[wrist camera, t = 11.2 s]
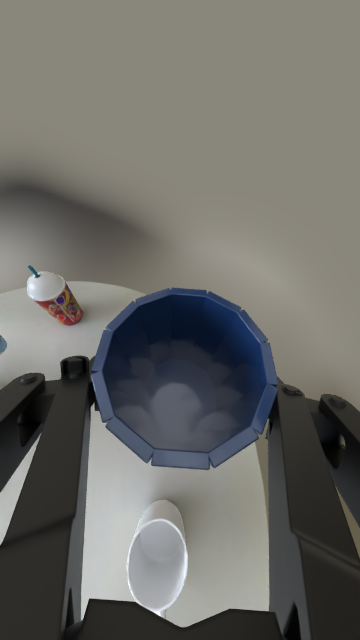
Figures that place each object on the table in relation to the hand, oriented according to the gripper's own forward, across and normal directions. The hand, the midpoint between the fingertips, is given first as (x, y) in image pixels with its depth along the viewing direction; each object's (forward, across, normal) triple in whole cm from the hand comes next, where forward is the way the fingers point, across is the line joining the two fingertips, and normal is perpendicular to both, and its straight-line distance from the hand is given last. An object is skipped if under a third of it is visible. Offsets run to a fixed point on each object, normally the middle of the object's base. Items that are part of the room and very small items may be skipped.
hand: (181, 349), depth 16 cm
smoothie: (+39, -33, -8) cm, 52 cm away
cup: (+8, -1, -40) cm, 41 cm away
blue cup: (0, 0, -5) cm, 5 cm away
